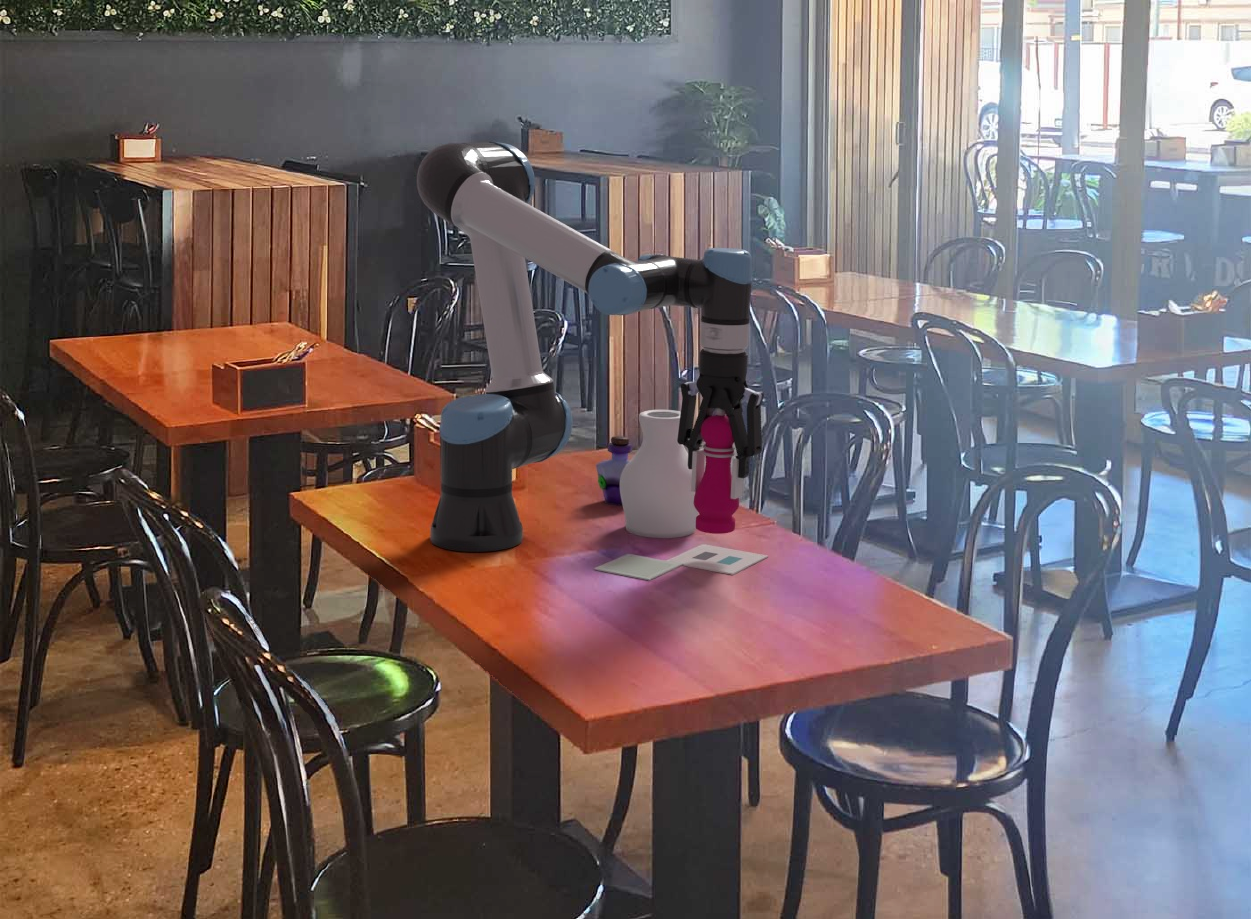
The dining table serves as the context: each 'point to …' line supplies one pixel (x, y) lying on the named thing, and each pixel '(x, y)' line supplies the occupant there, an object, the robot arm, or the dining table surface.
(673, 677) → the dining table surface
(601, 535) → the dining table surface
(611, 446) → the potion bottle
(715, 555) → the tile
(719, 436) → the pepper mill
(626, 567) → the coaster
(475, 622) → the dining table surface
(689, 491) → the vase
